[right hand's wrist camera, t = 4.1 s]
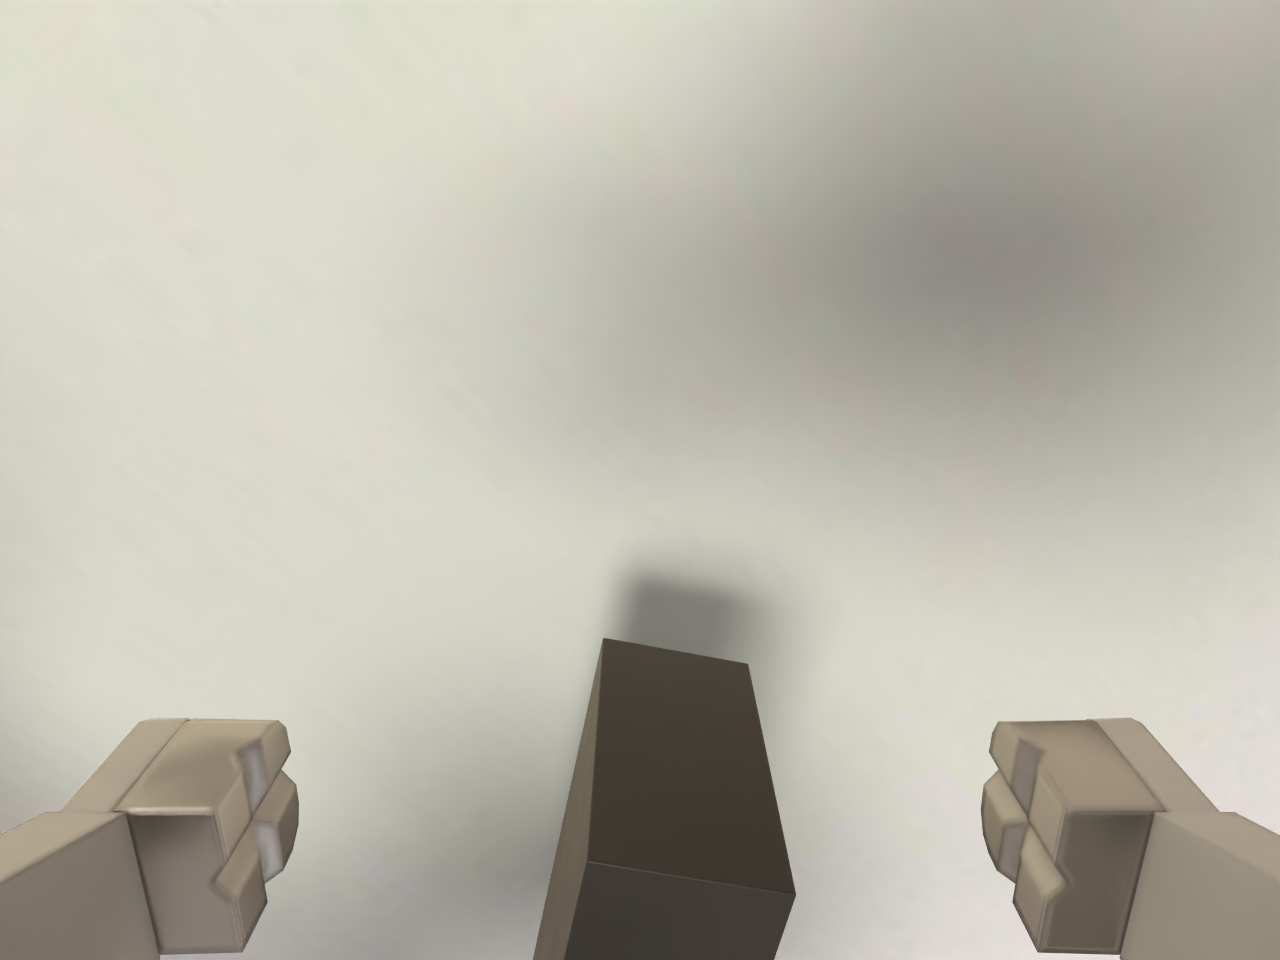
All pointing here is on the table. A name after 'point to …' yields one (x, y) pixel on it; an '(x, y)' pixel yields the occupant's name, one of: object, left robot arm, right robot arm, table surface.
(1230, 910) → the right robot arm
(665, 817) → the box
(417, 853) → the table surface
